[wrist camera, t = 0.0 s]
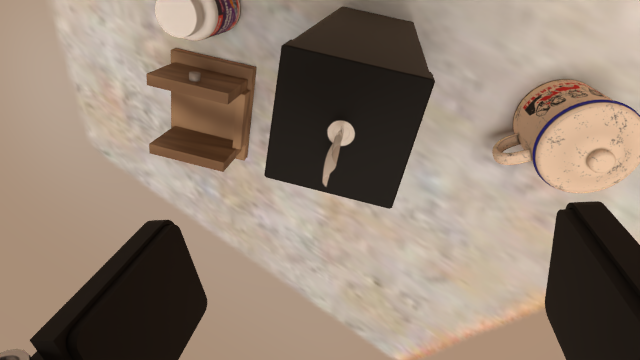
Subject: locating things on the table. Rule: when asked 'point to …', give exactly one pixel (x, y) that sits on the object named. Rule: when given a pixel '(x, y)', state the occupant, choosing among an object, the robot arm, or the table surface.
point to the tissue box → (349, 106)
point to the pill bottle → (197, 17)
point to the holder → (205, 109)
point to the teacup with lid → (574, 137)
